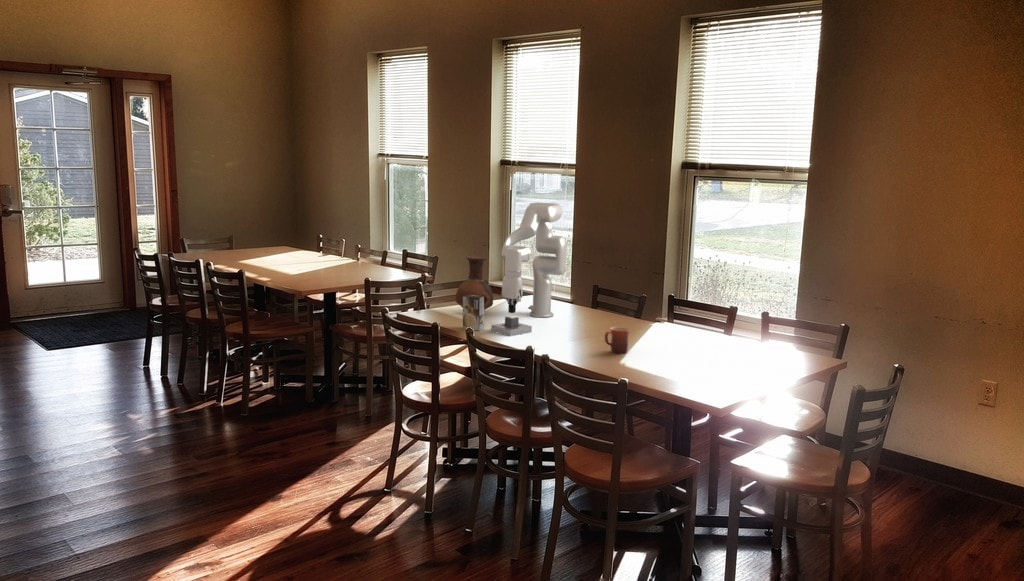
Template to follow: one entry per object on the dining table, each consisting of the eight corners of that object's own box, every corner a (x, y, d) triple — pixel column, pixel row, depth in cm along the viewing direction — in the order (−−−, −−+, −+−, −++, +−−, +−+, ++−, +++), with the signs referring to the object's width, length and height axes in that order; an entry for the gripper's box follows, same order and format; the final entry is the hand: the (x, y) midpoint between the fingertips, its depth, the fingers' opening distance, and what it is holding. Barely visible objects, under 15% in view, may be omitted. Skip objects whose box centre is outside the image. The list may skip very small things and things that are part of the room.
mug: (621, 348, 350) (622, 326, 348) (633, 353, 342) (634, 330, 340) (598, 351, 344) (599, 328, 342) (610, 356, 337) (611, 332, 335)
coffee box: (484, 328, 382) (485, 295, 380) (479, 331, 377) (480, 297, 374) (467, 326, 386) (468, 294, 383) (461, 329, 380) (462, 296, 377)
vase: (504, 315, 414) (505, 258, 409) (474, 320, 401) (475, 261, 396) (473, 308, 432) (474, 253, 427) (444, 312, 419) (445, 255, 414)
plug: (504, 331, 378) (505, 316, 376) (511, 330, 381) (512, 315, 379) (511, 333, 374) (511, 317, 373) (518, 332, 377) (518, 316, 376)
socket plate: (491, 331, 377) (491, 323, 377) (512, 327, 387) (512, 320, 386) (510, 336, 368) (510, 328, 367) (531, 332, 378) (531, 324, 377)
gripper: (496, 272, 375) (495, 311, 378) (518, 276, 365) (517, 316, 368) (507, 271, 380) (506, 309, 383) (530, 275, 370) (528, 314, 373)
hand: (511, 312), depth 376 cm, fingers closed
